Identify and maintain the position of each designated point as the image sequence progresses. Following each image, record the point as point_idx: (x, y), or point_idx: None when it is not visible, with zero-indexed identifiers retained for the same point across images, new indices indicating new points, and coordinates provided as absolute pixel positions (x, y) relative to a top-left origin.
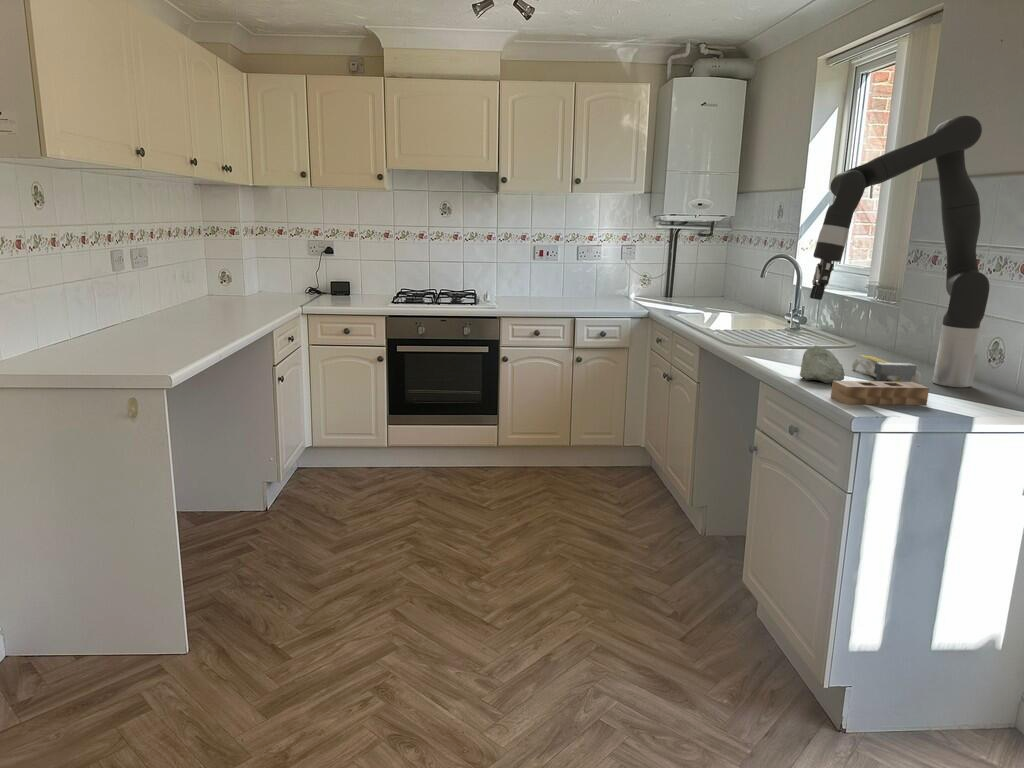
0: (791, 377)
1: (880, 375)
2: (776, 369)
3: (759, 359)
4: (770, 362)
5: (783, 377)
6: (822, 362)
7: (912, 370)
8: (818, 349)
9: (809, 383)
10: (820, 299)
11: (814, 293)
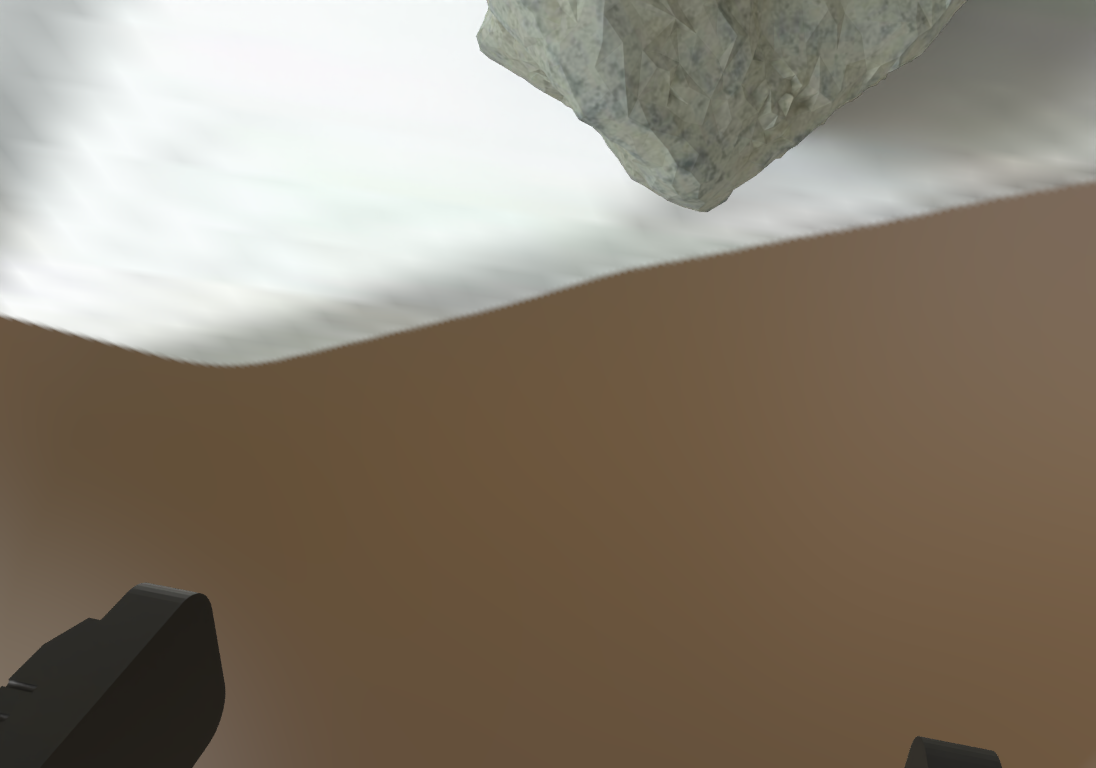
0: None
1: None
2: (358, 242)
3: (10, 307)
4: (76, 245)
5: (688, 238)
6: (899, 4)
7: None
8: (677, 72)
9: None
10: (982, 763)
11: (145, 759)
